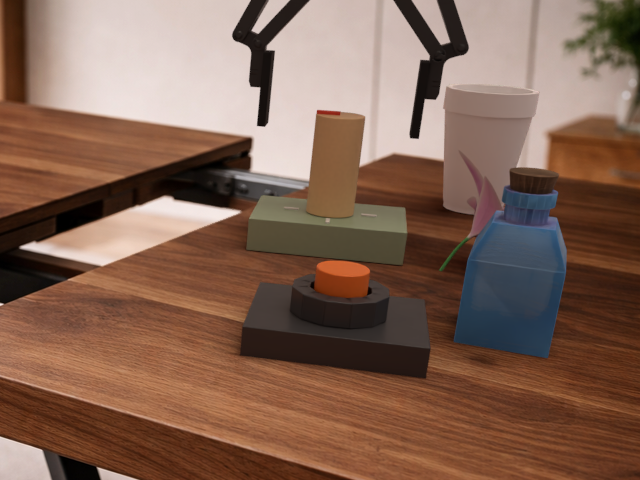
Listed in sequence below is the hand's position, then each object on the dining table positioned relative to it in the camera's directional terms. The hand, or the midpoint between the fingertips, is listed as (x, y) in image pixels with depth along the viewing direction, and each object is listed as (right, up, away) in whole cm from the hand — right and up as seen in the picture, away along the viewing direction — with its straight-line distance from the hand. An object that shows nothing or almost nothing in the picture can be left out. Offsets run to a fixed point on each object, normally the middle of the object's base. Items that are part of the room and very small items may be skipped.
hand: (336, 130), depth 87 cm
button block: (-5, -19, -20) cm, 28 cm away
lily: (+12, -13, -3) cm, 18 cm away
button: (-4, -16, -21) cm, 27 cm away
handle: (0, -7, +3) cm, 8 cm away
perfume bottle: (+8, -19, -18) cm, 27 cm away
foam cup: (+19, -5, +20) cm, 28 cm away
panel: (0, -10, +4) cm, 11 cm away
